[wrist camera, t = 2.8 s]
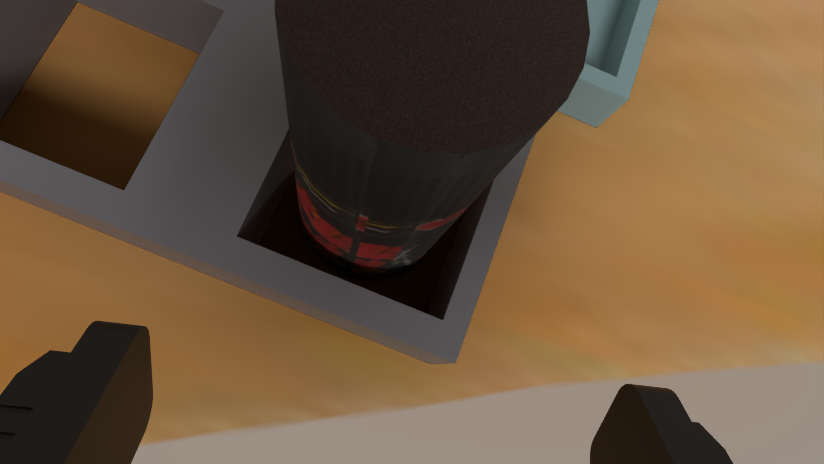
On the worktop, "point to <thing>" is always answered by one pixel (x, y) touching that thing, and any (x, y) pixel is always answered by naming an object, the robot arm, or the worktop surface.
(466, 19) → the deodorant
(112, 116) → the worktop surface
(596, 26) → the tray
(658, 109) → the worktop surface
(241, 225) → the holder
